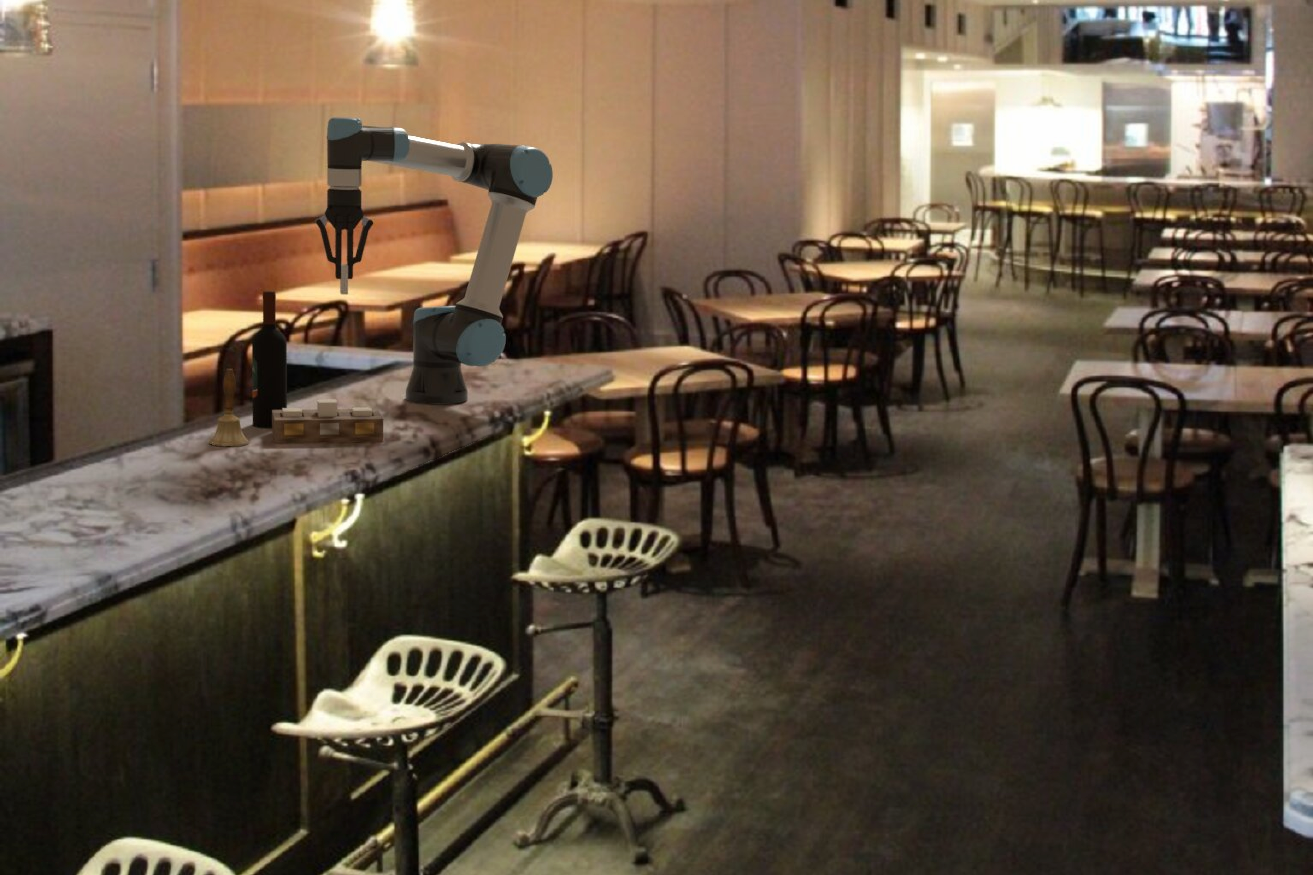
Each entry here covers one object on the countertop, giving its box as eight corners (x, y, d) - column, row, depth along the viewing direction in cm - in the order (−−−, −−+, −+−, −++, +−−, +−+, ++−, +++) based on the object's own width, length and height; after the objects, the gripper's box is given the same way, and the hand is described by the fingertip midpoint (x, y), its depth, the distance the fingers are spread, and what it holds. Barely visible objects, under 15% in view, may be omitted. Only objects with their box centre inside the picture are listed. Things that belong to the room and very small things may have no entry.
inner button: (370, 429, 398) (370, 407, 397) (372, 433, 395) (372, 410, 394) (351, 429, 397) (351, 407, 396) (353, 433, 394) (353, 410, 393)
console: (377, 430, 403) (377, 408, 402) (383, 441, 391) (383, 419, 390) (272, 432, 397) (272, 409, 396) (274, 443, 385) (274, 420, 384)
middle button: (335, 421, 396) (335, 399, 395) (337, 425, 392) (337, 402, 391) (317, 421, 395) (317, 399, 394) (318, 425, 391) (318, 402, 390)
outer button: (301, 430, 395) (300, 407, 394) (302, 434, 391) (302, 411, 390) (282, 430, 394) (282, 408, 393) (283, 434, 390) (283, 411, 389)
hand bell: (230, 437, 390) (229, 364, 387) (257, 443, 385) (256, 369, 382) (200, 443, 383) (199, 368, 380) (227, 448, 379) (227, 373, 375)
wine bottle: (270, 429, 400) (269, 294, 394) (245, 425, 404) (244, 291, 398) (294, 424, 406) (293, 292, 400) (269, 420, 410) (268, 289, 404)
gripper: (372, 187, 407) (371, 291, 411) (313, 186, 403) (313, 291, 408) (375, 189, 399) (375, 295, 404) (315, 188, 396) (315, 295, 401)
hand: (344, 293), depth 406 cm, fingers closed
